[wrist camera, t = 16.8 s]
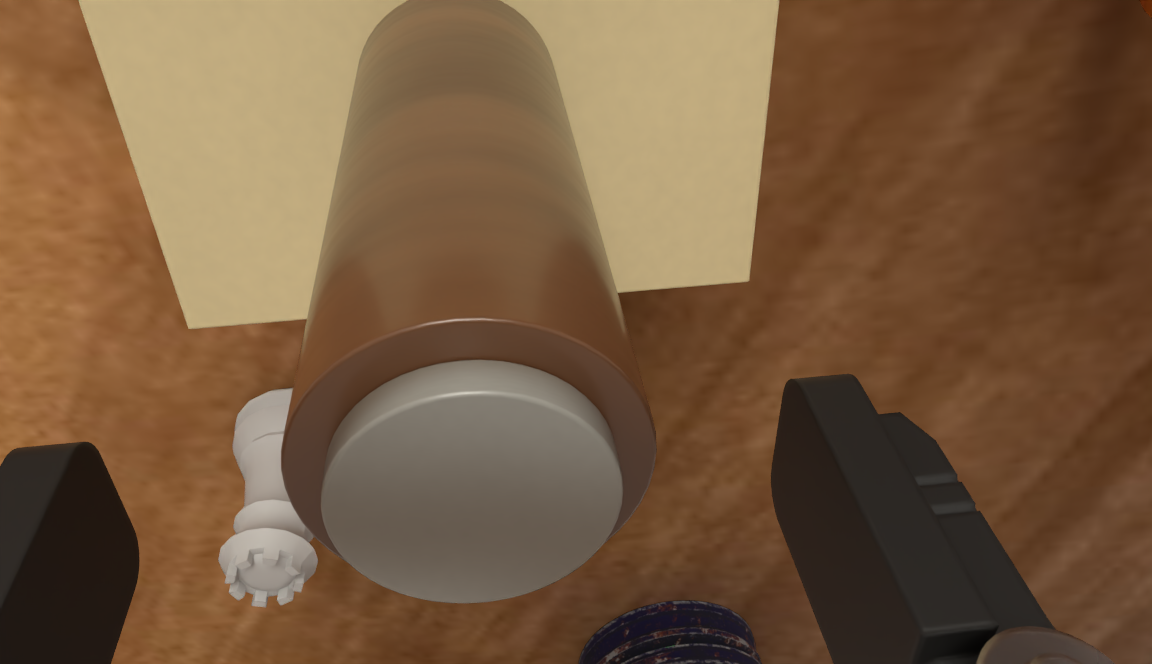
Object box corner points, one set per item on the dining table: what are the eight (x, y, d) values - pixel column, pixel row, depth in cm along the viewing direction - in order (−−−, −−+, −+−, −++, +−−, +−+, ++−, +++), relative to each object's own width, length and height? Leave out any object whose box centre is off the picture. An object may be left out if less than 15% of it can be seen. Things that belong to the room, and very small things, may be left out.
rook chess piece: (324, 368, 36) (299, 523, 29) (368, 447, 38) (353, 605, 32) (216, 398, 36) (167, 559, 30) (266, 475, 39) (232, 637, 32)
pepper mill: (340, -5, 19) (227, 375, 9) (552, -18, 19) (675, 334, 9) (373, 186, 22) (315, 648, 11) (559, 172, 22) (661, 609, 12)
